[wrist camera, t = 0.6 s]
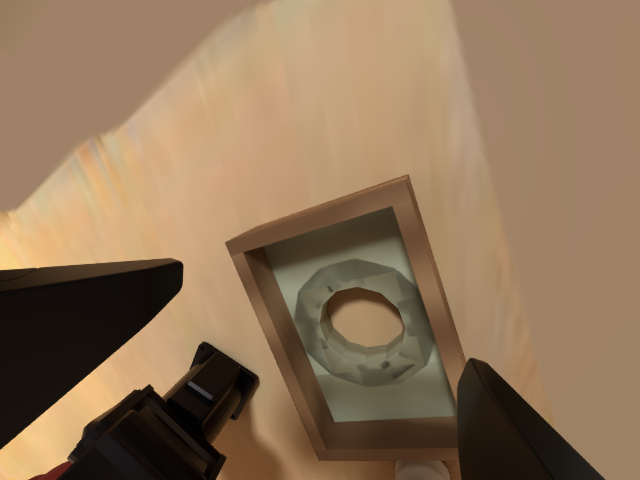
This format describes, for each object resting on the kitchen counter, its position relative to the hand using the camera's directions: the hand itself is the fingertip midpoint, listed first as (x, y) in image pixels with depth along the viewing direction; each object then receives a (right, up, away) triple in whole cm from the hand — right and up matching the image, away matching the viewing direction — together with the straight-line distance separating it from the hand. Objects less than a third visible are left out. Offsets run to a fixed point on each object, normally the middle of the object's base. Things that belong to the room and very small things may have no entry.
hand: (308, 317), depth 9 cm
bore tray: (+4, -3, +15) cm, 15 cm away
